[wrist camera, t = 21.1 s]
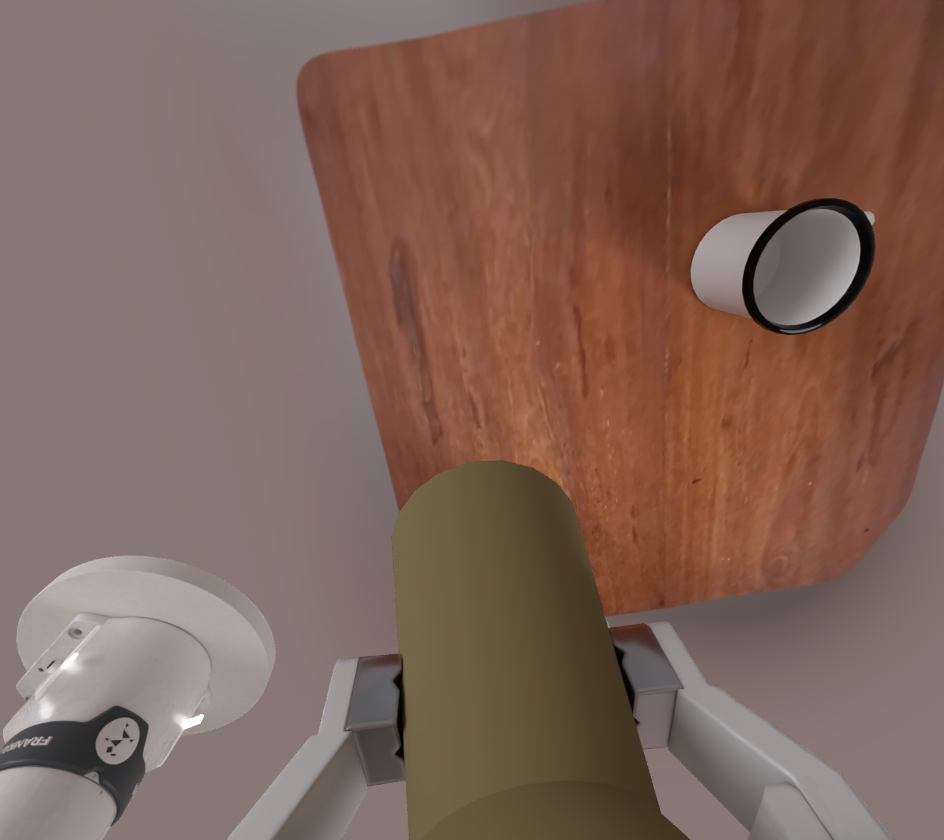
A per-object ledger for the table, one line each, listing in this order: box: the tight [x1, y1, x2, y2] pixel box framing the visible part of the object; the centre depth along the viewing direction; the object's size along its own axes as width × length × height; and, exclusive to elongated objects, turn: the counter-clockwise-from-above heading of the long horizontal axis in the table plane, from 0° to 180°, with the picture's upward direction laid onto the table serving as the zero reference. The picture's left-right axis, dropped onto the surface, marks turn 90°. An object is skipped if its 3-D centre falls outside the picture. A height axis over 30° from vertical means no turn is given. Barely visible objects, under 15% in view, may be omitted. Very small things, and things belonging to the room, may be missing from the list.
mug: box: [691, 198, 875, 335], centre depth 35 cm, size 12×9×9 cm
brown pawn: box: [392, 461, 690, 840], centre depth 9 cm, size 6×6×11 cm
